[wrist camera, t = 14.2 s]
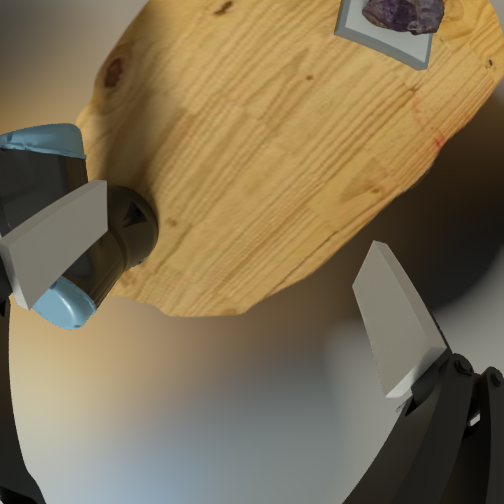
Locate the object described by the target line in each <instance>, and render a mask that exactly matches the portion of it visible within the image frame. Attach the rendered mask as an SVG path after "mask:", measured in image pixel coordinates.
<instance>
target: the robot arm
mask: <svg viewBox="0 0 504 504" xmlns="http://www.w3.org/2000/svg"><path fill="white" fill-rule="evenodd" d="M85 159H86V155H85V153H84V147H83V141H82V134H81V131H80V129H79V128H78V127H77V126H76V125H74V124H70V123H62V124H61V123H60V124H48V125H41V126H34V127H29V128H24V129H20V130H16V131H13V132H10V133H5V134H2V135H0V500H1V501H2V502H3V504H46V503H45V500H44V498H43V495H42V493H41V491H40V489H39V486H38V485H37V483H36V481H35V480H34V479H33V477H32V476H31V475H30V474H29V472H28V471H27V469H26V466H25V464H24V460H23V457H22V453H21V449H20V444H19V440H18V435H17V430H16V425H15V420H14V414H13V406H12V398H11V389H10V376H9V318H10V306H11V304H10V300H9V295H10V294H11V293H12V292H13V294H14V297H15V299H16V302H17V304H18V305H20V306H21V307H23V308H25V309H27V310H30V309H31V308H33V309H34V310H35V311H36V312H37V313H38V314H39V315H40V316H42V317H43V318H44V319H46V320H47V321H49V322H50V323H52V324H54V325H56V326H58V327H60V328H64V329H69V330H73V329H78V328H80V327H82V326H83V325H84V324H85V323H86V321H87V320H88V319H89V318H90V316H91V315H93V314H94V313H95V312H96V310H97V308H98V307H99V305H100V304H101V302H102V301H103V299H104V298H105V297H106V295H107V294H108V292H109V291H110V290H111V288H112V287H113V285H114V284H115V283H116V281H117V280H118V279H119V277H120V276H121V275H122V273H123V272H124V271H126V270H128V269H130V268H131V267H134V266H136V265H139V264H140V263H142V262H143V261H144V260H146V259H147V257H148V256H149V255H150V254H151V252H152V251H153V249H154V248H155V246H156V243H157V238H158V226H157V222H156V218H155V216H154V213H153V211H152V209H151V208H150V206H149V205H148V203H147V202H146V201H145V200H144V199H143V198H142V197H141V196H140V195H139V194H137V193H136V192H134V191H132V190H130V189H128V188H125V187H120V186H113V187H108V188H107V181H104V180H98V179H94V180H92V181H90V182H88V176H87V169H86V161H85ZM352 287H353V290H354V293H355V296H356V299H357V302H358V305H359V308H360V311H361V314H362V317H363V321H364V324H365V327H366V330H367V334H368V337H369V340H370V344H371V347H372V351H373V354H374V358H375V362H376V365H377V369H378V373H379V377H380V381H381V384H382V389H383V393H384V397H401V396H402V395H403V394H404V393H405V392H406V391H407V390H408V389H409V388H410V387H411V391H412V394H413V395H412V396H411V397H410V398H409V399H407V400H406V401H405V402H404V403H403V404H402V405H401V406H400V407H398V408H397V410H396V411H395V412H398V411H400V410H401V409H403V410H402V412H401V414H400V416H399V418H398V420H397V422H396V424H395V425H394V427H393V429H392V431H391V433H390V434H389V436H388V438H387V440H386V441H385V443H384V445H383V447H382V448H381V450H380V451H379V453H378V455H377V456H376V458H375V459H374V461H373V462H372V464H371V465H370V467H369V468H368V470H367V472H366V473H365V474H364V476H363V477H362V478H361V480H360V481H359V483H358V484H357V485H356V487H355V488H354V489H353V491H352V492H351V493H350V495H349V496H348V497H347V498H346V500H345V501H344V502H343V503H342V504H504V378H503V376H502V373H501V372H500V371H499V370H497V369H496V368H494V367H491V366H490V367H488V368H487V369H486V370H485V371H484V372H483V373H482V374H481V375H480V374H477V373H474V370H473V368H472V366H471V364H470V362H469V361H468V360H467V359H466V358H465V357H464V356H462V355H460V354H457V353H454V354H452V351H451V349H450V347H449V345H448V343H447V341H446V339H445V337H444V335H443V333H442V331H441V330H440V327H439V325H438V323H437V322H436V320H435V318H434V316H433V314H432V312H431V311H430V310H429V309H428V308H427V307H426V305H424V303H423V301H422V300H421V298H420V296H419V295H418V293H417V291H416V289H415V288H414V286H413V284H412V283H411V281H410V279H409V278H408V276H407V275H406V273H405V271H404V270H403V268H402V267H401V265H400V264H399V262H398V260H397V259H396V257H395V256H394V254H393V253H392V251H391V250H390V249H389V247H388V246H387V244H384V243H381V242H377V241H373V243H372V245H371V247H370V250H369V252H368V254H367V256H366V258H365V261H364V263H363V265H362V267H361V269H360V271H359V273H358V275H357V278H356V279H355V282H354V284H353V286H352ZM478 414H480V420H479V421H478V422H477V423H475V424H474V425H473V426H471V425H470V421H471V420H472V419H473V418H475V417H476V416H477V415H478Z"/></svg>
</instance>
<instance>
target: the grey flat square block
mask: <svg viewBox="0 0 504 504" xmlns="http://www.w3.org/2000/svg"><path fill="white" fill-rule="evenodd" d="M368 2H369V0H341V4H340V9H339V13H338V18H337V22H336V27H335V31H334V35H336V36H339V37H342V38H345V39H348V40H351V41H354V42H356V43H359V44H362V45H364V46H367V47H369V48H372V49H374V50H376V51H379V52H381V53H383V54H385V55H388V56H390V57H392V58H394V59H396V60H398V61H400V62H402V63H404V64H406V65H408V66H410V67H412V68H414V69H416V70H418V71H419V70H425V69H427V67H428V62H429V56H430V50H431V43H432V36H433V33H429V34H421V35H416V36H414V35H412V34H411V32H409V31H408V32H397V31H394V30H390V29H384V28H381V27H376V26H375V25H373V24H372V23H370V22H369V21H368V20H367V19H366V18H365V17H364V16H363V15H362V10H363V9H364V8H365V7H366V5H367V3H368Z"/></svg>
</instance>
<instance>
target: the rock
mask: <svg viewBox="0 0 504 504" xmlns="http://www.w3.org/2000/svg"><path fill="white" fill-rule="evenodd" d="M443 5H444V3H443V2H442V0H369V2H368V3H367V5H366V7H365V8H364V9H363V10H362V15H363V16H364V17H365V18H366V19H367V20H368V21H369V22H370V23H372V24H373V25H375V26H376V27H381V28H384V29H390V30H394V31H397V32H408V31H409V32H411V34H412V35H414V36H416V35H421V34H429V33H436V32H437V30H438V28H439V25H440V23H441V20H442V18H443V16H444V10H445V9H444V6H443Z"/></svg>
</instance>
